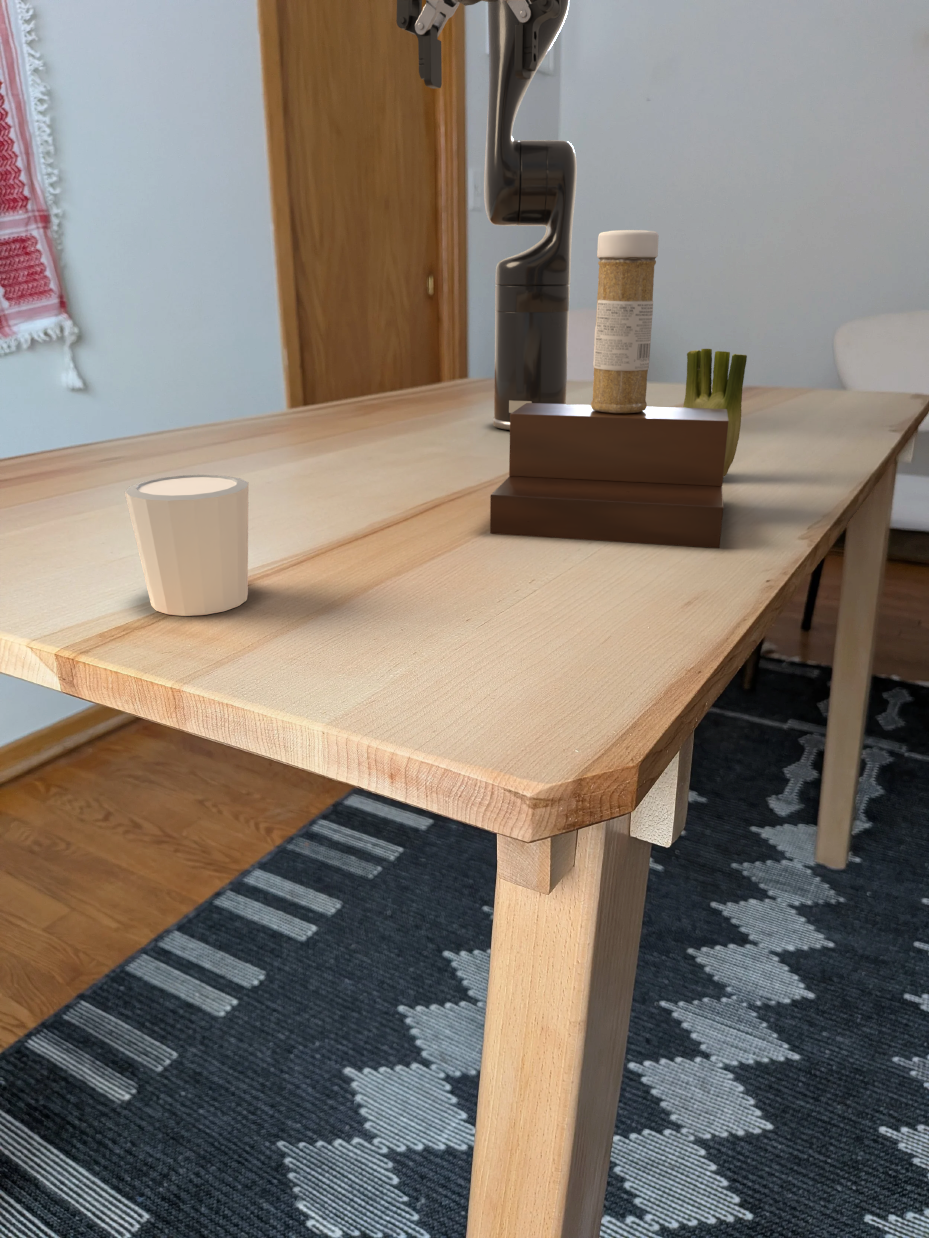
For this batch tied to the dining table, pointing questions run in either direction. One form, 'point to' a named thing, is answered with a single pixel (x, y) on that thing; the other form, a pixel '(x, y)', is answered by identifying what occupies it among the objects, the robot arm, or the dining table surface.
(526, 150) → the robot arm
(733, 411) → the fennel bulb
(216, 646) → the dining table surface
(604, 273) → the spice jar
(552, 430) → the step rack
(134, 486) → the cream cup
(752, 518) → the dining table surface
